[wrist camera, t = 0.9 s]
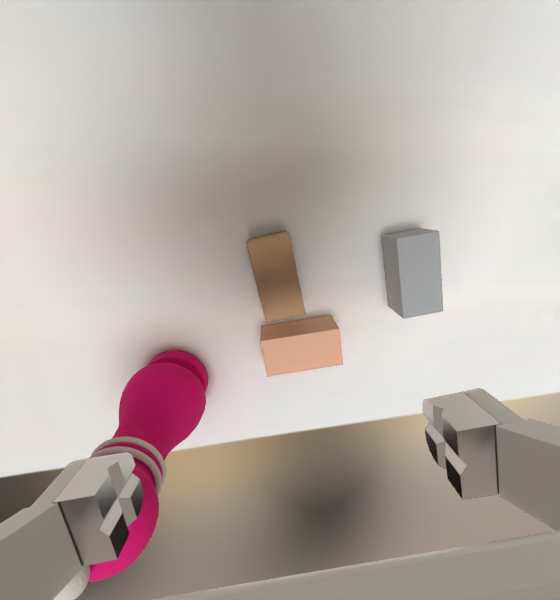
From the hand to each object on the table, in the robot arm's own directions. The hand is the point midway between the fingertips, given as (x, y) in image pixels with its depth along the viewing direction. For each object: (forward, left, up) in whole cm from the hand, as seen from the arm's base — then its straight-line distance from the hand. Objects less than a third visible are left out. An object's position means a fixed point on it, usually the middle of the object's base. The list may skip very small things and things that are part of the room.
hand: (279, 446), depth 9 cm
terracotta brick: (+6, +1, -23) cm, 24 cm away
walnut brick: (0, 0, -23) cm, 23 cm away
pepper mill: (+8, -12, -23) cm, 27 cm away
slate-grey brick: (+1, +12, -23) cm, 26 cm away
